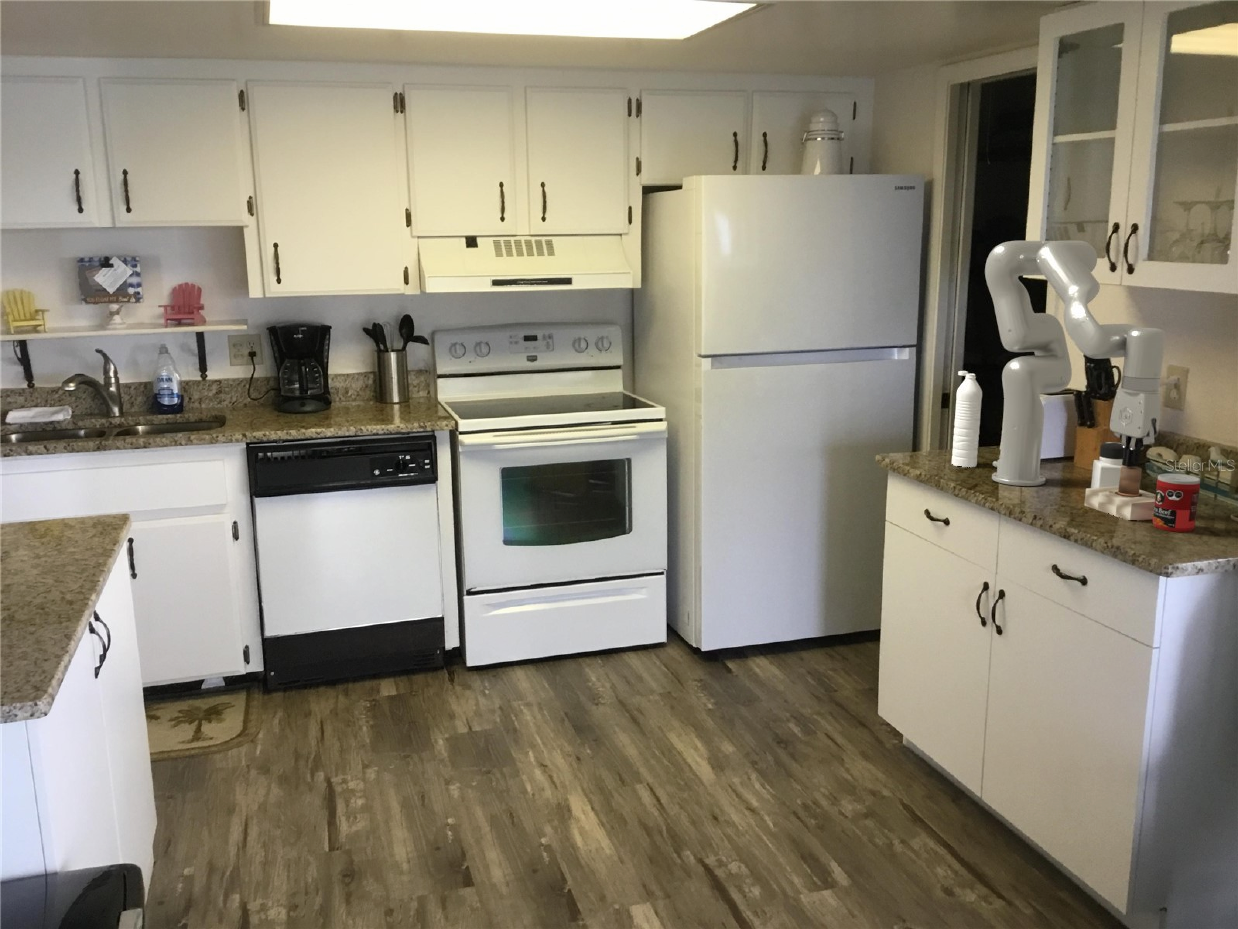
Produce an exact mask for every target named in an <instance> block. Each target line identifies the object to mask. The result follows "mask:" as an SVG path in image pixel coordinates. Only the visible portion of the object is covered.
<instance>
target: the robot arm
mask: <svg viewBox="0 0 1238 929" xmlns="http://www.w3.org/2000/svg"><path fill="white" fill-rule="evenodd" d="M1097 262H1098V254H1097V251H1096V249H1095V248H1094V246H1092V245H1091V244H1090V243H1089V242H1087V241H1084V240H1011V241H1005V242H1002V243H1000V244H998V245H996V246H995V247H993V248H992V250H991V251H990V252H989V254H988V257H987V258H986V263H985V268H984V275H985V280H986V285H987V287H988V288H987V289H988V290H989V293H990V295H991V298H992V302H993V306H994V313H995V316H996V322H997V326H998V327H997V328H998V332H999V337H1000V342H1001V343H1002V346H1003V348H1004V349H1005V350H1007V351H1008V352H1012V353H1026V352H1027V353H1029V352H1031V353H1032V352H1034V353H1033V354H1034V355H1025V356H1019V357H1015V358H1013V359H1011V360H1010V361H1008V362H1007V363H1006V365H1005V366H1004V367H1003V370H1002V374H1001V380H1002V389H1003V398H1004V399H1003V416H1002V417H1003V418H1002V427H1001V428H1002V430H1001V442H1000V453H999V459H997V460H994V461H993V462H992V466H994V467H995V468H997V469H996V471H995V472H993V473H992V474H991V479H992V480H993V482H994V481H995V482H996V483H1001V484H1004V485H1009V486H1019V487H1020V486H1021V487H1036V486H1041V485H1044V484H1045V483H1046V478H1045V477H1044V476H1043V475H1040V466H1041V454H1042V444H1043V436H1044V435H1043V434H1044V433H1043V432H1044V422H1045V409H1044V408H1045V407H1044V404H1043V402H1042V399H1041V396H1040V395H1041V394H1051V393H1059V392H1061V391H1064V390H1065V389H1066V388H1067V387H1068V386H1069V385H1070V383H1071V381H1072V374H1073V372H1072V370H1073V369H1072V362H1071V359H1070V354H1069V348H1068V343H1067V340H1066V334H1065V331H1066V333H1067V334H1068V336H1069V337H1070V340H1072V342H1073V343H1074V345H1075V346H1076V348H1077V349H1078V350H1079V351H1080V352H1081V353H1082V354H1083V355H1084V356H1086V357H1088V358H1091V359H1095V360H1096V359H1097V360H1098V359H1099V360H1100V359H1112V358H1113V359H1115V358H1116V359H1118V358H1120V359H1121V358H1123V367H1122V376H1121V377H1120V388H1118V389H1117V391H1116V394H1115V397H1114V401H1113V405H1112V409H1111V414H1110V415H1111V416H1110V420H1109V421H1110V422H1109V430H1110V431H1111V432H1112V433H1113V435H1114V437H1115V436H1116V438H1118V439H1120V441H1121V443H1122V447H1123V448H1124V451H1123V459H1122V465H1123V466H1126V467H1139V466H1140V458H1141V451H1142V450H1144V448H1145V446H1146V445H1153V444H1154V443H1155V438H1156V437H1157V436H1158V434H1159V430H1160V424H1161V423H1160V422H1161V394H1160V392H1159V391H1160V386H1161V385H1160V383H1161V376H1162V367H1163V361H1164V352H1165V344H1166V332H1165V331H1164V330H1163V329H1161V328H1155V327H1141V326H1138V325H1135V324H1131V323H1108V324H1106V323H1105V324H1100V323H1099V322H1098V321H1097V320H1096V318H1095V317H1094V315H1093V314H1092V313H1091V311H1090V309H1089V306H1088V304H1090V303H1091V302H1092V301H1093V300H1094V299H1095V298H1096V297H1097V295H1098V294H1099V293H1100V289H1101V286H1100V282H1099V281H1098V280H1097V278H1096V277H1095V276H1094V274H1093V271H1094V270H1095V268H1096V266H1097ZM1020 276H1044V277H1045V280H1046V281H1047V282H1048V283H1049V285H1050V286H1051V287H1052V289H1053V290H1054V291H1055V293H1056V294H1057V296H1058V298H1060V300H1061V302H1062V303H1063V305H1064V308H1063V321H1064V322H1063V323H1064V327H1065V331H1064V328H1063V326H1062V325H1063V324H1062V323H1061V322H1060V321H1059V319H1058V318H1057V317H1056V316H1055V315H1052V314H1050V313H1045V312H1039V313H1038V312H1036V313H1035V311H1034V310H1033V306H1032V303H1031V298H1030V295H1029V292H1028V290H1027V288H1026V287H1025V285H1024V284H1023V283H1022V282H1021V281H1020V279H1019V277H1020Z"/></svg>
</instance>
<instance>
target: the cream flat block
mask: <svg viewBox="0 0 1238 929" xmlns="http://www.w3.org/2000/svg"><path fill="white" fill-rule="evenodd" d="M1118 489H1119V486H1112V487H1100V488H1091V487H1089V488H1085V496H1084V497H1085V498H1084V506H1085V507H1087V508H1091V509H1094V510H1097V511H1100V512H1101V513H1105V514H1108V513H1109V514H1108V515H1111V516H1113V515H1114V516H1113V517H1117V518H1119V517H1120V519H1122V518H1123V520H1125V521H1128V520H1137V521H1145V520H1146V521H1147V520H1153V514H1154V505H1155V496H1156V493H1155V494H1154V493H1151V492H1149V491H1145V490H1142V489H1139V493H1140V495H1139V496H1138V497H1126V496H1120V495H1119V494H1118V493H1117V491H1118Z"/></svg>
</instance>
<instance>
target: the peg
mask: <svg viewBox="0 0 1238 929" xmlns="http://www.w3.org/2000/svg"><path fill="white" fill-rule="evenodd" d="M1142 470H1143V469H1142V468H1141V467H1139V466H1136V467H1126V466H1122V467H1121V471H1120V480H1119V489H1118V491H1117V493H1118V494H1119V495H1120V496H1126V497H1138V496H1139V495H1140V493H1139V490H1141V481H1142V480H1141V479H1142Z"/></svg>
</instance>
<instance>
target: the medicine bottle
mask: <svg viewBox="0 0 1238 929" xmlns="http://www.w3.org/2000/svg"><path fill="white" fill-rule="evenodd" d="M1123 451H1124V448H1123V447H1122V442H1112V441H1111V442H1110V441H1109V442H1104V443H1102V444H1100V451H1099V459H1094V460H1093V463H1092V464H1093V465H1092V475H1091V483H1090V488H1100V487H1112V486H1119V480H1120V471H1121V467H1122V466H1123V465H1122V459H1123Z"/></svg>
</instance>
